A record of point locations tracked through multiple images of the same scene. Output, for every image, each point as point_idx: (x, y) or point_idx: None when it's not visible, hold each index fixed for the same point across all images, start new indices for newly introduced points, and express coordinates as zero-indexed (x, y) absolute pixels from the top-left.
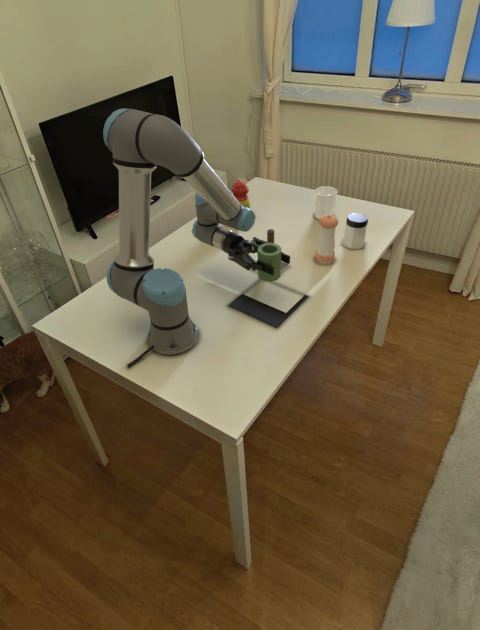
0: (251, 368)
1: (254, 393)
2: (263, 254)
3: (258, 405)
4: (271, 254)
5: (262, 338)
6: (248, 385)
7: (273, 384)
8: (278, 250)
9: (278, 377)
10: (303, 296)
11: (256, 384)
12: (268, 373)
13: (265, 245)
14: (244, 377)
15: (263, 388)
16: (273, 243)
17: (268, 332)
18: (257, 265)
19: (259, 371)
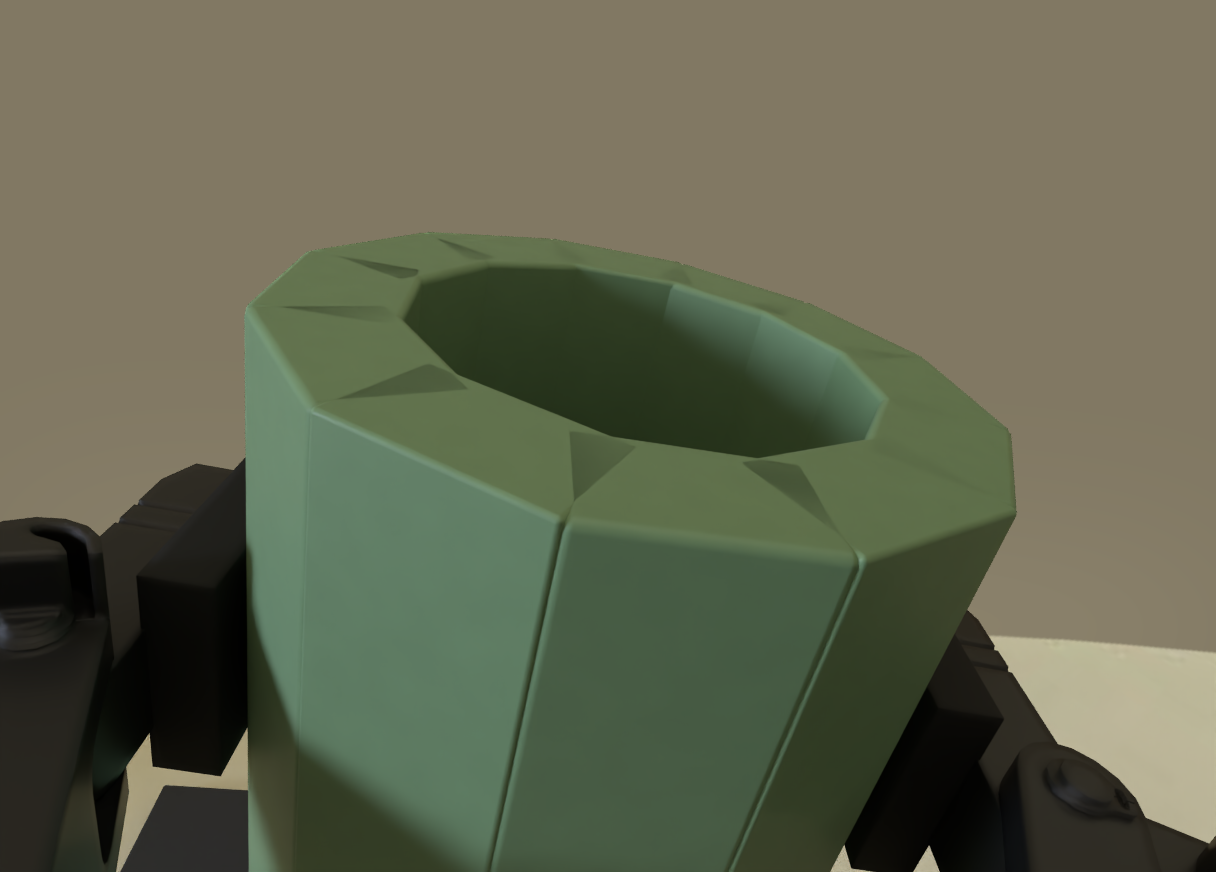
0: (1139, 780)
1: (1175, 689)
2: (951, 382)
3: (1173, 650)
4: (789, 305)
5: (934, 868)
6: (1196, 733)
7: (1051, 646)
8: (561, 253)
9: (1005, 645)
10: (188, 825)
11: (1145, 705)
12: (1046, 690)
13: (547, 417)
14: (1209, 778)
15: (1114, 670)
16: (276, 301)
17: (848, 864)
18: (1010, 687)
19: (1094, 732)
